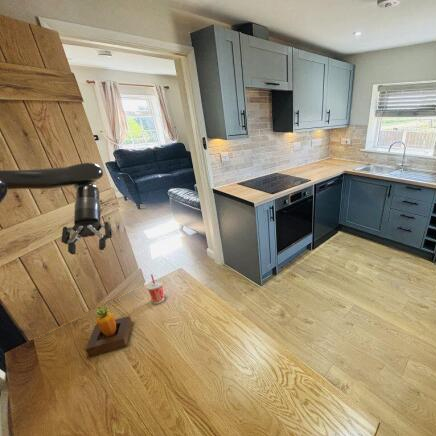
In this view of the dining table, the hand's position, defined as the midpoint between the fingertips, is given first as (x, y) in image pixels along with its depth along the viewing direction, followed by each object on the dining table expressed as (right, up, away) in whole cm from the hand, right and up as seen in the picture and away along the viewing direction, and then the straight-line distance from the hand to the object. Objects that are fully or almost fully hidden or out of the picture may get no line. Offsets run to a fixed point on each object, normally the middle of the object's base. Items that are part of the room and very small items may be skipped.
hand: (87, 251), depth 86 cm
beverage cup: (+14, -25, +21) cm, 35 cm away
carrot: (+8, -33, +2) cm, 34 cm away
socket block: (+7, -33, +2) cm, 34 cm away
